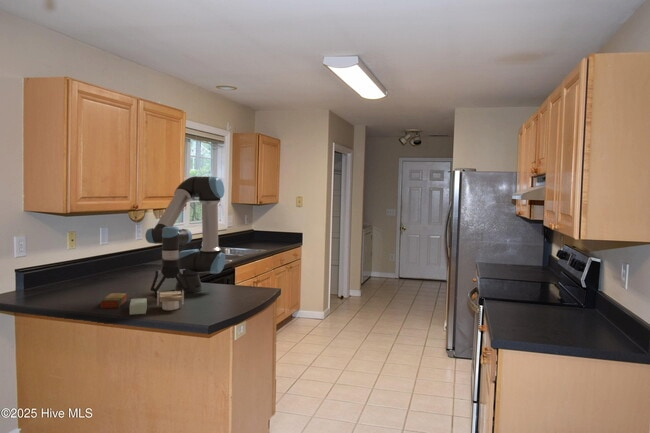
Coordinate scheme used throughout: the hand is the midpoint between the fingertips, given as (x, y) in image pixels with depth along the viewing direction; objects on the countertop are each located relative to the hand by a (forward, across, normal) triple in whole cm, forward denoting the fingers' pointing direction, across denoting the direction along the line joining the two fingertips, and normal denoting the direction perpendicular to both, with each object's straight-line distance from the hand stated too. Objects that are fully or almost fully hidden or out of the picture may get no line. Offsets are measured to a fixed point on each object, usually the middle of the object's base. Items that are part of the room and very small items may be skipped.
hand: (170, 304), depth 238 cm
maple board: (-3, 0, 0) cm, 3 cm away
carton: (+3, -26, +16) cm, 31 cm away
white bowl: (+2, 0, 0) cm, 2 cm away
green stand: (+2, -14, 0) cm, 15 cm away
